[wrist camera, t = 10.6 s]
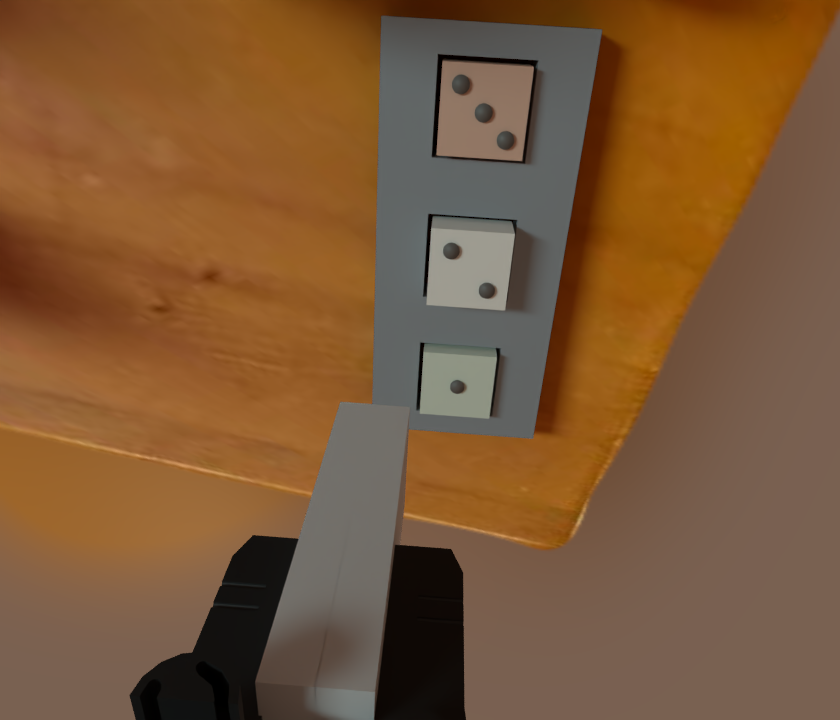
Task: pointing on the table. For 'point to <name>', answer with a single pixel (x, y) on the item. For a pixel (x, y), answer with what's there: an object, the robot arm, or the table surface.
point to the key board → (475, 210)
